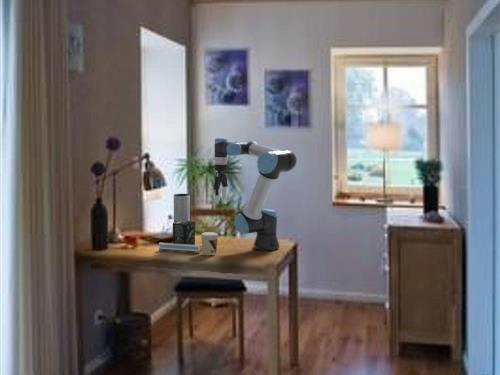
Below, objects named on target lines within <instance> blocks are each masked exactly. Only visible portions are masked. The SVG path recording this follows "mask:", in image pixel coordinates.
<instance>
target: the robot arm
mask: <svg viewBox="0 0 500 375" xmlns="http://www.w3.org/2000/svg"><path fill="white" fill-rule="evenodd" d="M241 155H249V156H252V157H255V158H257V160H256V166H257V171H258V173H259V175H258V177H257V179H256V183H255V186H254V187H253V190H252V192H251V195H250V197H249V200H248V202H247V204H246V206H244V207H243V208H242V210H241V213H238V214H236V215H235V216H234V220H233V221H234V227H235V229H236V231H237V233H239V234H240V235H247V234H252V233H253V234H254V233H256V236H255V240H254V242H253V249H254V248H255V249H254V250H256V249H258V251H262V250H272V251H276V250H275V249H278V250H280V242H279V239H278V235H277V231H278V228H277V226H278V224H277V223H278V214H277V211H276V210H275V209H269V208H264V206H265V203H266V202H267V198H268V195H269V194H270V192H271V190H272V187H273V184H274V181H275V180H278V179H279V176H280V174H281V173H287V172H290V171H292V170H293V169H294V168H296V166H297V156H296V155H295V153H294V152H292V150H287V149H277V148H272V147H269V146H265V145H262V144H258V143H257V141H251V140H250V141H238V142H237V141H233V142H231V141H230V142H229V141H228V139H227V137H217V138H215V139H214V158H213V160H214V171H217V172H216V173H215V177H214V184H213V191H214V201H215V202H220V201H221V200H220V199H223V198H225V199H226V198H227V188H228V186H229V185H228V177H227V171H228V156H232V157H234V156H235V157H236V156H241ZM221 185H222V186H221ZM220 188H221V190H220ZM220 197H221V198H220Z"/></svg>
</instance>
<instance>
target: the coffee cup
mask: <svg viewBox="0 0 500 375" xmlns="http://www.w3.org/2000/svg"><path fill="white" fill-rule="evenodd" d="M200 237H201V246H202V252H201V253H202V255H203V254H204V255H215V254H216V255H217V251H218V237H219V235H218V233H217V232H213V231H206V232H202V233H201V234H200ZM204 255H203V256H204ZM216 255H215V256H216Z"/></svg>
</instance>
